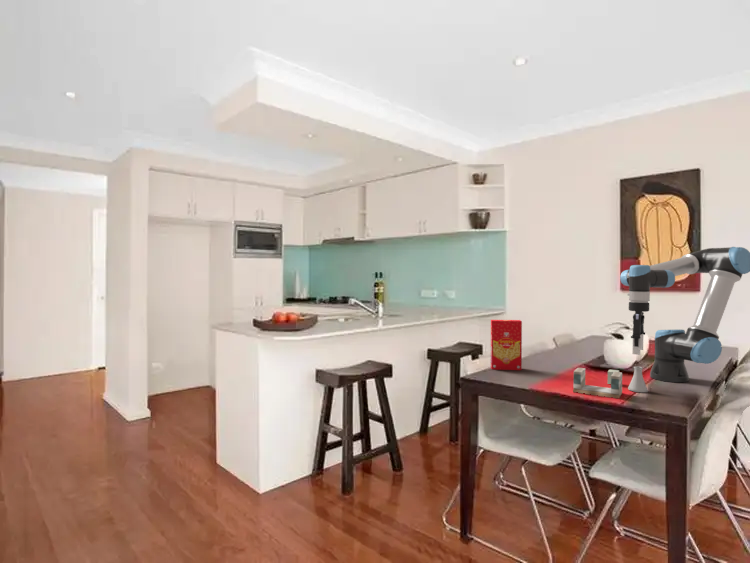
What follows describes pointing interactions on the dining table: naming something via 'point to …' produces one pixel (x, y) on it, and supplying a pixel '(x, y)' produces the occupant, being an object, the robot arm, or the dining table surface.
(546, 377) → the dining table surface
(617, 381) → the grey u-shaped holder
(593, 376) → the dining table surface
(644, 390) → the flask
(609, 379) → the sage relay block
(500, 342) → the food packaging
